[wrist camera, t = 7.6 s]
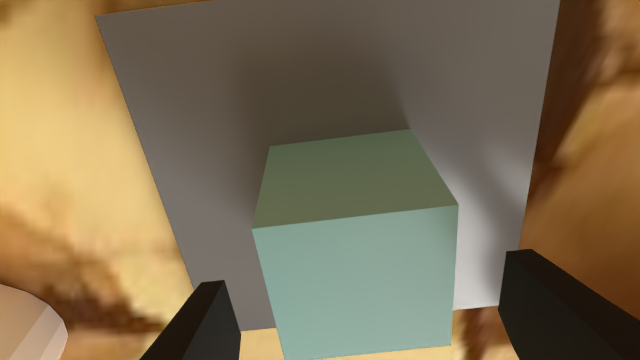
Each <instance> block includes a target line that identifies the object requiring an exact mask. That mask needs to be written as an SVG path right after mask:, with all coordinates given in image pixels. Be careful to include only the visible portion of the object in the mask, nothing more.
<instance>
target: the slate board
mask: <svg viewBox="0 0 640 360" xmlns="http://www.w3.org/2000/svg"><path fill="white" fill-rule="evenodd" d="M559 5H560V0H207V1H199V2H191V3H183V4H175V5H168V6H160V7H152V8H144V9H136V10H129V11H121V12H113V13H106V14H101V15H96V16H95V19H96V21H97V24H98V27H99V30H100V32H101V35H102V38H103V41H104V43H105V46H106V49H107V52H108V54H109V57H110V60H111V63H112V65H113V68H114V71H115V74H116V76H117V79H118V82H119V85H120V87H121V90H122V93H123V96H124V98H125V101H126V104H127V107H128V109H129V112H130V115H131V118H132V120H133V123H134V126H135V129H136V131H137V134H138V137H139V140H140V142H141V145H142V148H143V151H144V153H145V156H146V159H147V162H148V164H149V167H150V170H151V173H152V175H153V178H154V181H155V184H156V186H157V189H158V192H159V195H160V197H161V200H162V203H163V205H164V208H165V211H166V214H167V216H168V219H169V222H170V225H171V227H172V230H173V233H174V236H175V238H176V241H177V244H178V247H179V249H180V252H181V255H182V258H183V260H184V263H185V266H186V269H187V271H188V274H189V277H190V280H191V282H192V285H193V288H194V291H195V289H196V288H197V287H198V286H199V284H200V283H201V282H208V281H218V280H225V283H226V287H227V290H228V293H229V296H230V300H231V303H232V306H233V310H234V313H235V316H236V319H237V323H238V326H239V329H240V331H248V330H258V329H268V328H277V327H276V323H275V319H274V315H273V311H272V308H271V304H270V300H269V296H268V292H267V288H266V284H265V280H264V276H263V272H262V268H261V264H260V260H259V256H258V252H257V248H256V244H255V241H254V237H253V233H252V225H253V220H254V216H255V211H256V207H257V202H258V198H259V193H260V189H261V184H262V180H263V175H264V171H265V166H266V162H267V157H268V153H269V148H270V146H276V145H284V144H292V143H301V142H309V141H317V140H325V139H333V138H341V137H349V136H357V135H365V134H374V133H382V132H390V131H398V130H406V129H411V130H412V132H413V134H414V135H415V137H416V138H417V140H418V141H419V143H420V145H421V146H422V148H423V149H424V151H425V152H426V154H427V155H428V157H429V159H430V160H431V162H432V163H433V165H434V166H435V168H436V170H437V171H438V173H439V174H440V176H441V177H442V179H443V180H444V182H445V184H446V185H447V187H448V188H449V190H450V191H451V193H452V195H453V196H454V198H455V199H456V201H457V202H458V204H459V215H458V232H457V249H456V266H455V283H454V299H453V310H458V309H468V308H478V307H488V306H498V305H499V299H500V292H501V285H502V278H503V271H504V264H505V258H506V251H515V250H519V244H520V238H521V232H522V226H523V220H524V214H525V208H526V202H527V196H528V190H529V184H530V178H531V172H532V166H533V160H534V154H535V148H536V142H537V136H538V130H539V124H540V118H541V112H542V106H543V100H544V95H545V89H546V83H547V77H548V71H549V65H550V59H551V53H552V47H553V41H554V35H555V29H556V23H557V17H558V11H559Z"/></svg>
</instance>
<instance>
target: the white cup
mask: <svg viewBox="0 0 640 360" xmlns="http://www.w3.org/2000/svg"><path fill="white" fill-rule="evenodd" d="M67 339H68V333H67V330H66V327H65V324H64V321H63V320H62V318H61V317H60V316H59V315H58V314H57V313H56V312H55V311H54V310H53V309H52V308H51V307H50V306H49V305H48V304H47V303H45V302H43V301H42V300H40V299H38V298H37V297H35V296H33V295H31V294H30V293H28V292H26V291H22V290H19V289H16V288H12V287H9V286H6V285H2V284H0V360H59V359H60V357H61V355H62V353H63V351H64V349H65V346H66V342H67Z"/></svg>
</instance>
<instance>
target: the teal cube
mask: <svg viewBox="0 0 640 360" xmlns="http://www.w3.org/2000/svg"><path fill="white" fill-rule="evenodd" d="M458 215H459V204H458V202H457V201H456V199H455V198H454V196H453V195H452V193H451V191H450V190H449V188H448V187H447V185H446V184H445V182H444V180H443V179H442V177H441V176H440V174H439V173H438V171H437V170H436V168H435V166H434V165H433V163H432V162H431V160H430V159H429V157H428V155H427V154H426V152H425V151H424V149H423V148H422V146H421V145H420V143H419V141H418V140H417V138H416V137H415V135H414V134H413V132H412V130H411V129H406V130H398V131H390V132H382V133H374V134H365V135H357V136H349V137H341V138H333V139H325V140H317V141H309V142H301V143H292V144H284V145H276V146H270V148H269V153H268V157H267V162H266V166H265V171H264V175H263V180H262V184H261V189H260V193H259V198H258V202H257V207H256V211H255V216H254V220H253V225H252V233H253V237H254V241H255V244H256V248H257V252H258V256H259V260H260V264H261V268H262V272H263V276H264V280H265V284H266V288H267V292H268V296H269V300H270V304H271V308H272V311H273V315H274V319H275V323H276V327H277V331H278V335H279V339H280V343H281V347H282V351H283V355H284V359H285V360H313V359H323V358H333V357H342V356H352V355H362V354H372V353H381V352H391V351H401V350H411V349H420V348H430V347H440V346H450V345H451V333H452V316H453V299H454V283H455V266H456V249H457V232H458Z"/></svg>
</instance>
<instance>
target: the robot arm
mask: <svg viewBox="0 0 640 360" xmlns="http://www.w3.org/2000/svg"><path fill="white" fill-rule="evenodd" d="M498 312H499V314H500V317H501V319H502V322H503V324H504V327H505V329H506V332H507V334H508V336H509V339H510V341H511V343H512V346H513V348H514V350H515V352H516V354H517V356H518V357H519V359H520V360H640V321H639V320H638V319H636V318H634V317H633V316H631V315H630V314H628V313H627V312H625V311H623V310H622V309H620V308H619V307H617V306H616V305H614V304H613V303H611V302H610V301H608V300H606V299H605V298H603V297H602V296H600V295H599V294H597V293H596V292H594V291H593V290H591V289H590V288H588V287H587V286H585V285H584V284H583V283H581V282H580V281H578V280H577V279H575V278H574V277H572V276H571V275H569V274H568V273H566V272H565V271H563V270H562V269H561V268H559V267H558V266H556V265H555V264H553V263H552V262H550V261H549V260H547V259H546V258H544V257H543V256H541V255H540V254H538V253H537V252H535V251H534V250H532V249H525V250H515V251H506V258H505V264H504V271H503V278H502V285H501V292H500V299H499V306H498ZM240 341H241V333H240V329H239V326H238V323H237V319H236V316H235V313H234V310H233V306H232V303H231V300H230V296H229V293H228V290H227V287H226V283H225V280H218V281H208V282H201V283H200V284H199V286H198V287H197V288H196V289H195V291H194V292H193V293H192V294H191V296H190V297H189V298H188V300H187V301H186V302H185V303H184V305H183V306H182V307H181V309H180V310H179V311H178V312H177V314H176V315H175V316H174V318H173V319H172V320H171V321H170V323H169V324H168V325H167V326H166V328H165V329H164V330H163V331H162V333H161V334H160V335H159V336H158V338H157V339H156V340H155V341H154V343H153V344H152V345H151V346H150V347H149V349H148V350H147V351H146V352H145V354H144V355H143V356H142V357H141V358H140V360H239V352H240Z"/></svg>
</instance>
